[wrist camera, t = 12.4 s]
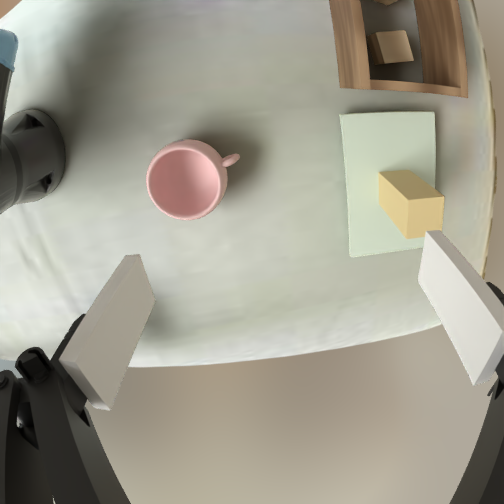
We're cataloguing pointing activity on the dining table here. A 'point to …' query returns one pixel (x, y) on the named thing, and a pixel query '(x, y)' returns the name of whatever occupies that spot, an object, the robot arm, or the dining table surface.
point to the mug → (188, 179)
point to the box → (431, 42)
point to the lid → (390, 180)
